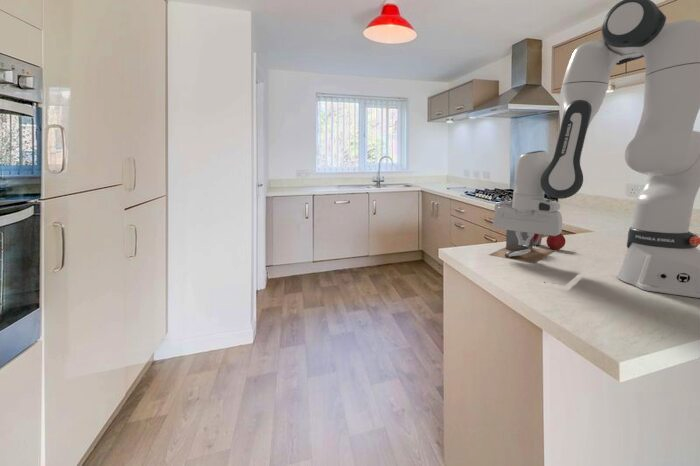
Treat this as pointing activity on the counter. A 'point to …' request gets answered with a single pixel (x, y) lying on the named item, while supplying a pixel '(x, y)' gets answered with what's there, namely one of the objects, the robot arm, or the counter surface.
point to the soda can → (537, 239)
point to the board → (524, 255)
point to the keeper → (517, 253)
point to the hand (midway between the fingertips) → (523, 245)
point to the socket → (513, 241)
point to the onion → (556, 241)
